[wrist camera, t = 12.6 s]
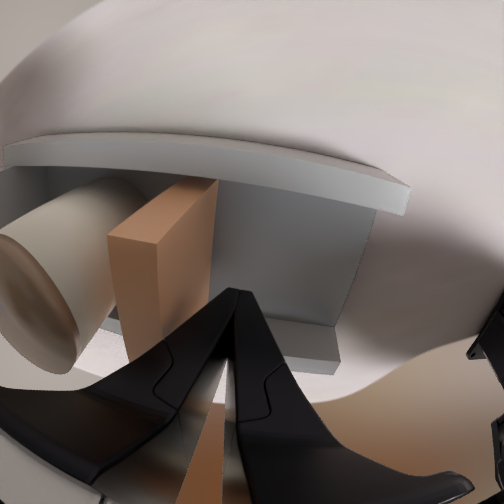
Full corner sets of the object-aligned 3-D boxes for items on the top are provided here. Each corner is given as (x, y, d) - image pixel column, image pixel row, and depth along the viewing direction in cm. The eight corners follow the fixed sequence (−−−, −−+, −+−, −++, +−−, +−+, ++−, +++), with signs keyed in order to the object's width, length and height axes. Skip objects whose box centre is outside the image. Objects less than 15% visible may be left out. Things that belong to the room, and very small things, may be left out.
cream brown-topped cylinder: (71, 174, 11) (-42, 232, 5) (158, 180, 11) (41, 259, 5) (81, 263, 13) (2, 344, 7) (160, 281, 13) (91, 393, 7)
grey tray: (382, 169, 10) (434, 203, 6) (327, 333, 15) (336, 402, 10) (42, 135, 11) (-22, 154, 7) (59, 275, 15) (17, 317, 11)
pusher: (219, 177, 11) (156, 243, 5) (208, 300, 13) (171, 403, 8) (190, 173, 11) (106, 234, 5) (184, 295, 13) (138, 394, 8)
